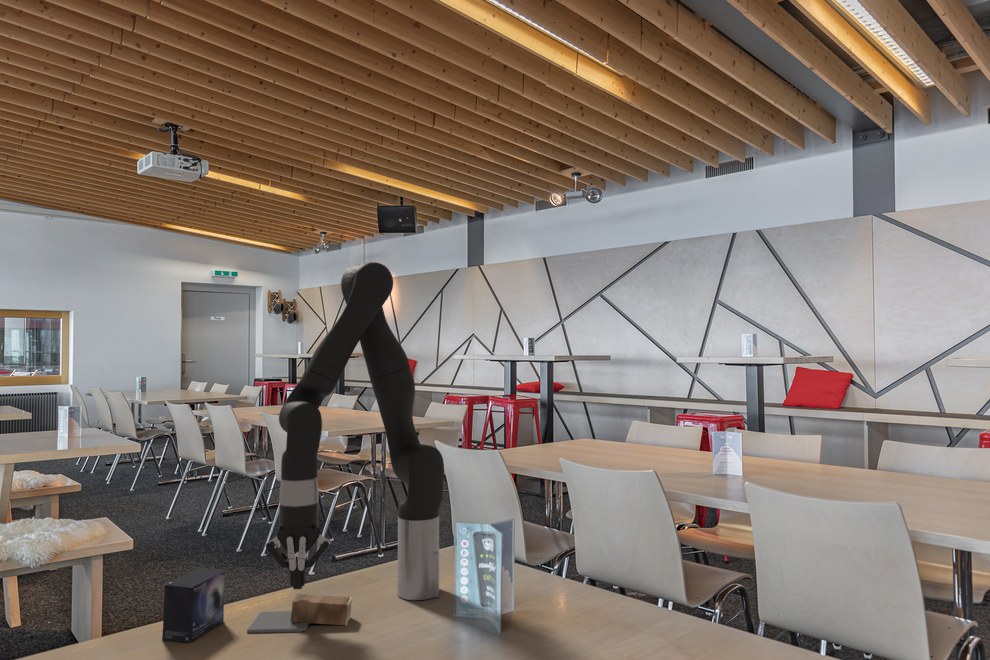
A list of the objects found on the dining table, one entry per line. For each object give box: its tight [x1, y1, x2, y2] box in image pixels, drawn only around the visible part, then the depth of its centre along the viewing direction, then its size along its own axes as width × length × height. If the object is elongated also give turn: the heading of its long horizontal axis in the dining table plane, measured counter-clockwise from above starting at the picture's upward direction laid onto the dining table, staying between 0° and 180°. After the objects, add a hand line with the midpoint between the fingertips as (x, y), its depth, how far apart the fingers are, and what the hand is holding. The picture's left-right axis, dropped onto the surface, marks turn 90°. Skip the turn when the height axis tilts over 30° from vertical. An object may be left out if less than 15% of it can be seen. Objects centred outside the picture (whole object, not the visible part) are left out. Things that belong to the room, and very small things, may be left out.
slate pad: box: [246, 610, 311, 634], centre depth 131 cm, size 11×9×1 cm
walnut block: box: [291, 593, 353, 626], centre depth 132 cm, size 4×4×11 cm
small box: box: [161, 567, 226, 644], centre depth 128 cm, size 11×6×10 cm, turn 168°
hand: (298, 587), depth 132 cm, fingers closed
